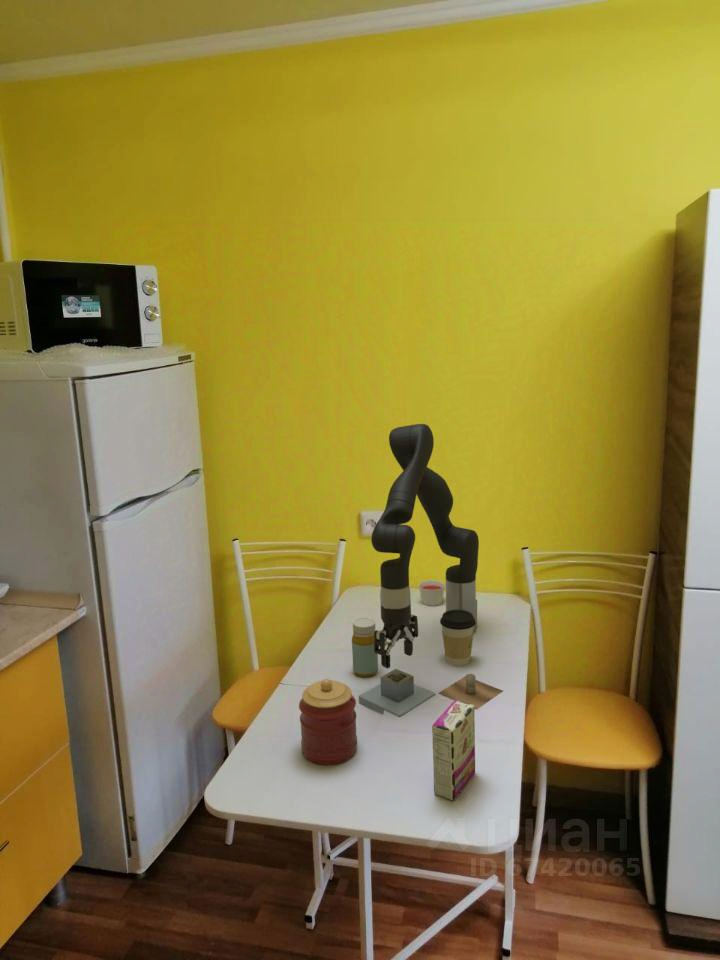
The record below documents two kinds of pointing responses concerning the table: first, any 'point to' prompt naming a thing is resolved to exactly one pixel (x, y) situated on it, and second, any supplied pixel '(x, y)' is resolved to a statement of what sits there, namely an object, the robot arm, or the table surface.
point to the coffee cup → (457, 636)
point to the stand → (471, 691)
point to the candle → (432, 592)
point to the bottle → (364, 648)
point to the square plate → (382, 703)
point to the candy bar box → (453, 749)
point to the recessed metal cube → (397, 686)
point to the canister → (328, 722)
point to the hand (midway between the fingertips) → (397, 660)
